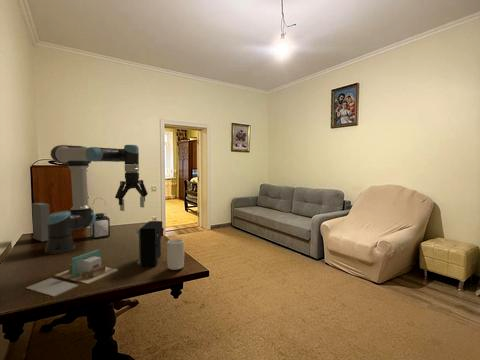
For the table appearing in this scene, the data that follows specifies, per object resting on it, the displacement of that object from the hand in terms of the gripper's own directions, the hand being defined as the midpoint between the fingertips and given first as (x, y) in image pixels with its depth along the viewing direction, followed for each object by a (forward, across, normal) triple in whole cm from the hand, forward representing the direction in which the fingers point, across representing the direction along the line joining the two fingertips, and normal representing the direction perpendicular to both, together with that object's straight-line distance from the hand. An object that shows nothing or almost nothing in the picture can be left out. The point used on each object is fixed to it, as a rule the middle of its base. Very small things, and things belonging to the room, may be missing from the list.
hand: (132, 209), depth 149 cm
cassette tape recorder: (+28, -10, +81) cm, 86 cm away
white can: (+27, -3, -36) cm, 45 cm away
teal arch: (+27, -28, -2) cm, 39 cm away
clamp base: (+27, -28, -2) cm, 39 cm away
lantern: (+27, +15, +55) cm, 63 cm away
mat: (+27, -44, -4) cm, 52 cm away
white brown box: (+26, -28, -2) cm, 39 cm away
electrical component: (+27, -2, -16) cm, 32 cm away
